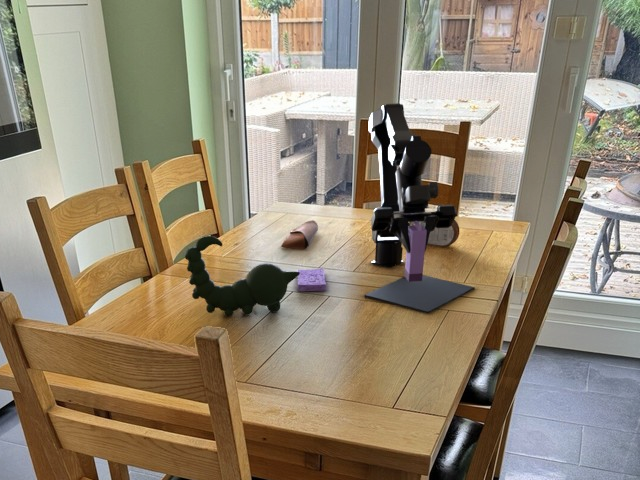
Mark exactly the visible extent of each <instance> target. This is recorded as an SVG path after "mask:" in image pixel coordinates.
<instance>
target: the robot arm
mask: <svg viewBox="0 0 640 480" xmlns="http://www.w3.org/2000/svg"><path fill="white" fill-rule="evenodd" d="M404 108H405V107H404V104H401V103H400V102H398V103H395V102H394V103H385V104H382V106H381V107H380V108H378V109H376V110H374V111H372V112H371V114H370V116H369V119H368V132H369V133H370V137H371V142H372V144H373V145H374V147H376V149H377V150H378V151H377V152H378V165H379V166H378V167H379V184H380V185H379V186H380V201H381V202H380V203H381V206H380V207H375V209H374V210H373V211H372V215H371V218H370V228H371V239H372V241H373V243H374V244H375V252H374V260H372V261H371V262H370V263H371V264H372V265H374V266H379V267H383V268H388V269H392V268H394V267H397V266H399V265H402V264H404V261H405V260H403V252H404V251H403V248H404V249H405V251H407V252H408V253H410V251H411V250H410V240H409V235H408V226H410V223H409V222H414V221H418V222H421V221H422V222H423V227H424V228H425V229H426V230H427V234H426V245H425V252H426V251H427V247H428V245H427V243H428V239H429V235H430V232H432V231H434V229H435V227H436V228H449V227H451V225H452V223H453V221H454V220H456V217H457V215H458V214H457V208H456V207H455V204H438V205H437V207H436V208H435V211H426V209H428V208H429V202H430V201H431V200H432V199H436V198H438V197H439V185H438V181H429V183H427V184H423V180H422V176H423V175H424V174H425V172H426V169H427V166H428V165H429V164H428V163H429V161H430V159H431V155H432V147H431V146H430V145H429V143H428V142H426V141H425V140H423V139H422V135H418V134H416V133H414V132H411V130H410V127H409V125H408V122H407V119H406V116H405V109H404ZM402 246H403V247H402Z"/></svg>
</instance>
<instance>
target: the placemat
mask: <svg viewBox="0 0 640 480" xmlns="http://www.w3.org/2000/svg"><path fill="white" fill-rule="evenodd" d="M474 290H475V286H471V285H467V284H462V283H458V282H454V281H449V280H445V279H442V278H437V277H433V276H429V275H424V274H423V277H422V281H413V282H409V281H408V280H407V278H406V277H405V276H403V277H401V278H398V279H396V280H394V281H392V282H390V283H388V284H385V285H383V286H381V287H378V288H377V289H374V290H372V291H370V292H368V293H366V294H364V298H368V299H372V300H374V301H375V300H376V301H379V302H383V303H387V304H390V305H394V306H398V307H402V308H405V309H409V310H413V311H417V312H420V313H424V314H428V315H429V314H430V313H432V312H434V311H436V310H438V309H440V308H442V307H444V306H446V305H447V304H449V303H451V302H453V301H455V300H457V299H458V298H460V297H462V296H464V295H467V294H468V293H470V292H472V291H474Z"/></svg>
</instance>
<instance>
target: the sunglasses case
mask: <svg viewBox="0 0 640 480" xmlns="http://www.w3.org/2000/svg"><path fill="white" fill-rule="evenodd" d="M318 231H319V225H318V222H317V221H316V220H313V219H312V220H308V221H305V222H303V223H301V224H299V225H297V226H296V227H294V228H292V229H291V230H290V232H289V234H288V235H287V236H286V238H285V239H284V240H283V241H282V243H281V246H280V247H281V248H282V249H288V250H296V251H297V250H298V251H304V250H307V249H308V248H309V247H310V244H311V242H312V240H313V239H314V237H315V235H317V232H318Z"/></svg>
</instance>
